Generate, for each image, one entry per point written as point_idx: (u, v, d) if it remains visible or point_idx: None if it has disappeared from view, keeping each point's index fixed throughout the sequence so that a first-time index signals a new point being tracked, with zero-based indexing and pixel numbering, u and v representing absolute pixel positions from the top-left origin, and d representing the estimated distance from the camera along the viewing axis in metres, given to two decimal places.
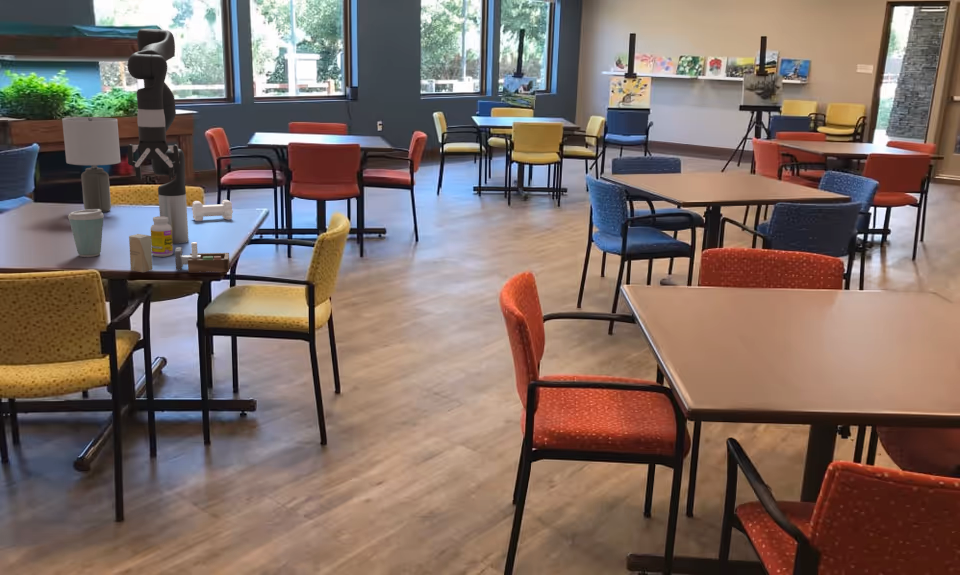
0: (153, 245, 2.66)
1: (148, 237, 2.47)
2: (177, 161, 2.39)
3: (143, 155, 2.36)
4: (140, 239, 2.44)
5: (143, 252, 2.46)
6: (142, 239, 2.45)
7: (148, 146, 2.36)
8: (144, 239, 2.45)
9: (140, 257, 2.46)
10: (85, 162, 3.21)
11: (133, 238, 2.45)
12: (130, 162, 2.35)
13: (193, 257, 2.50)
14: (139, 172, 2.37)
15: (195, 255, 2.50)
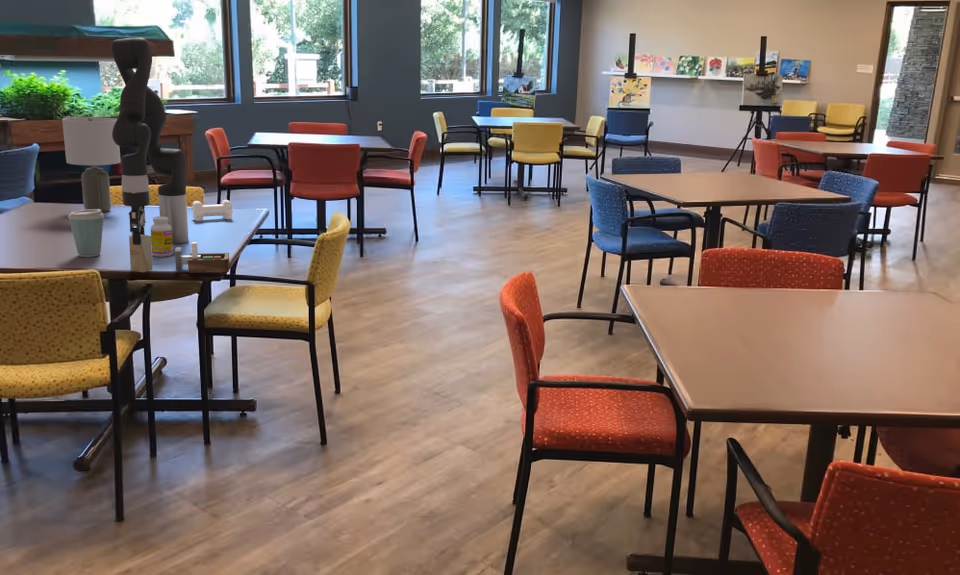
0: (153, 245, 2.66)
1: (148, 237, 2.47)
2: None
3: (142, 219, 2.43)
4: None
5: (143, 252, 2.46)
6: (142, 239, 2.45)
7: (140, 210, 2.44)
8: (144, 239, 2.45)
9: (140, 256, 2.46)
10: (85, 162, 3.21)
11: None
12: (139, 228, 2.40)
13: (193, 257, 2.50)
14: (140, 237, 2.43)
15: (195, 255, 2.50)
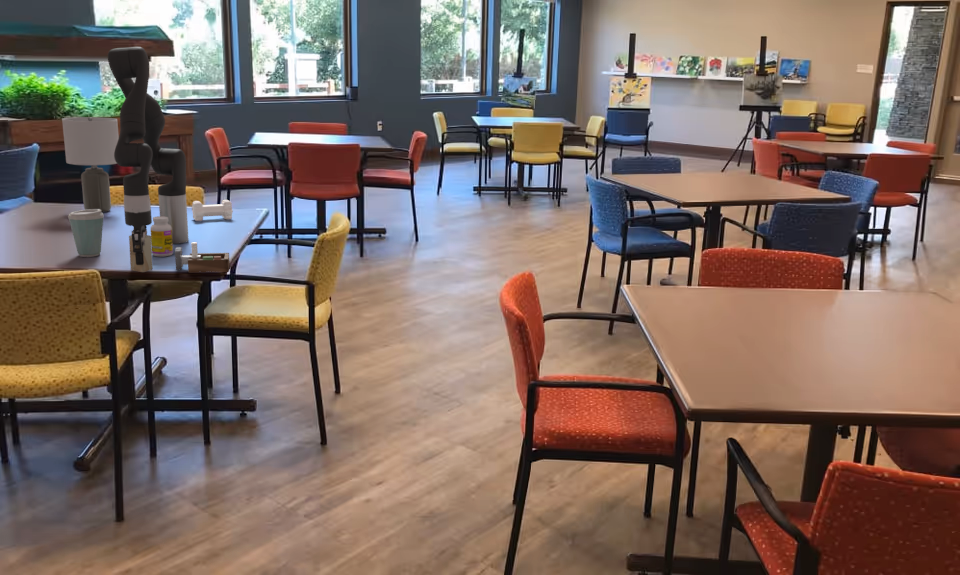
0: (153, 245, 2.66)
1: (148, 237, 2.47)
2: None
3: (144, 239, 2.45)
4: None
5: None
6: (142, 239, 2.45)
7: (142, 229, 2.45)
8: None
9: None
10: (85, 162, 3.21)
11: None
12: (142, 249, 2.43)
13: (193, 257, 2.50)
14: (143, 257, 2.46)
15: (195, 255, 2.50)
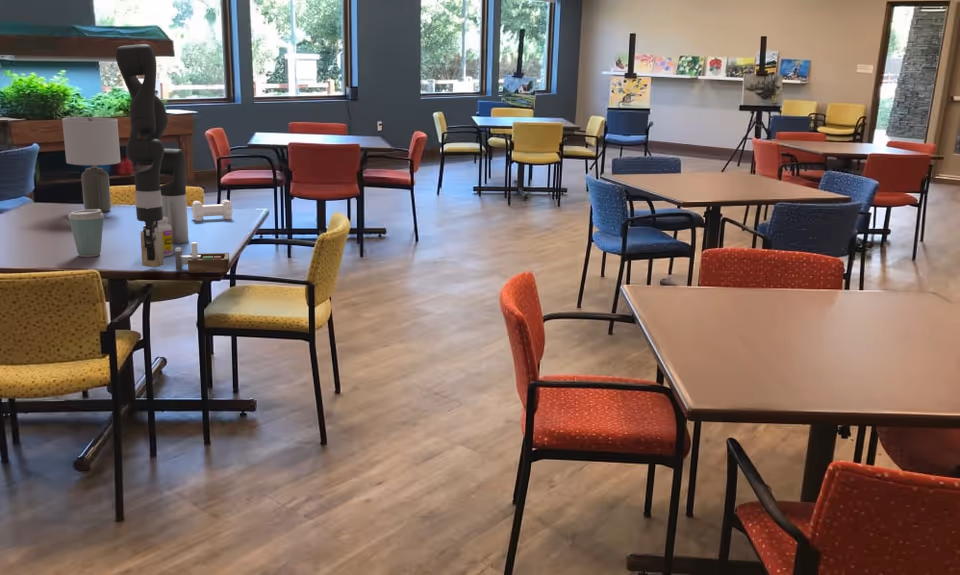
0: None
1: (159, 232, 2.47)
2: None
3: None
4: None
5: None
6: (153, 234, 2.45)
7: (153, 225, 2.46)
8: None
9: None
10: (85, 162, 3.21)
11: None
12: (153, 245, 2.43)
13: (193, 257, 2.50)
14: (154, 252, 2.46)
15: (195, 255, 2.50)
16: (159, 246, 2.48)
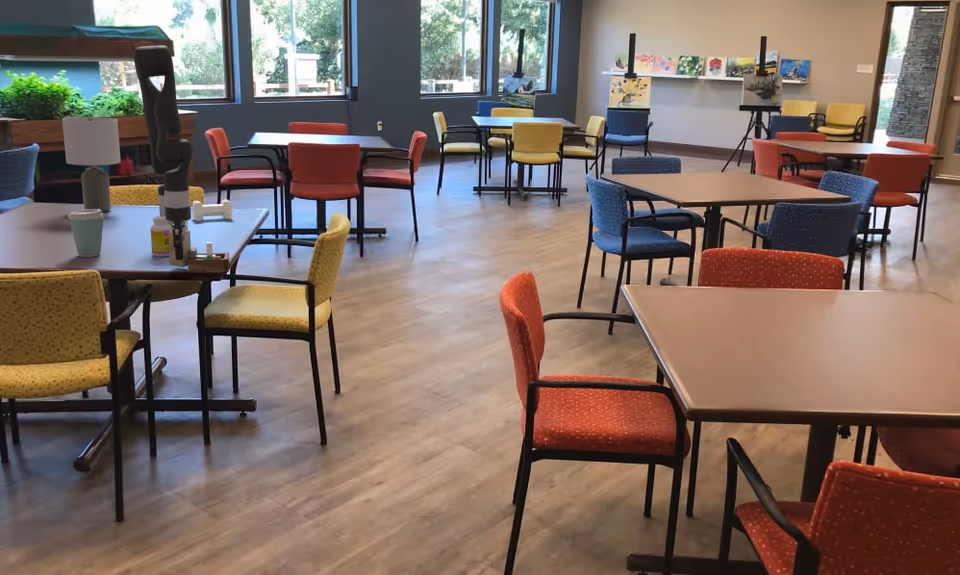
0: (153, 245, 2.66)
1: (187, 232, 2.50)
2: None
3: None
4: None
5: None
6: (182, 234, 2.47)
7: (182, 225, 2.48)
8: (184, 234, 2.48)
9: None
10: (85, 162, 3.21)
11: None
12: (182, 244, 2.45)
13: None
14: (182, 252, 2.48)
15: (210, 255, 2.51)
16: (187, 246, 2.50)
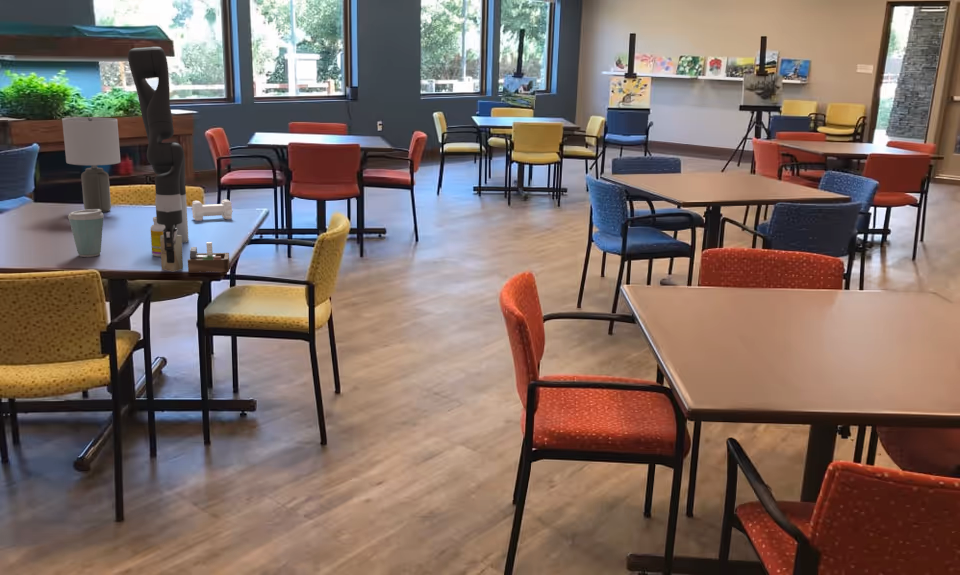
0: (153, 245, 2.66)
1: (179, 237, 2.49)
2: None
3: (175, 238, 2.47)
4: None
5: (174, 251, 2.48)
6: (173, 239, 2.47)
7: (173, 228, 2.48)
8: None
9: None
10: (85, 162, 3.21)
11: None
12: (173, 247, 2.44)
13: None
14: None
15: (210, 255, 2.51)
16: (179, 250, 2.50)
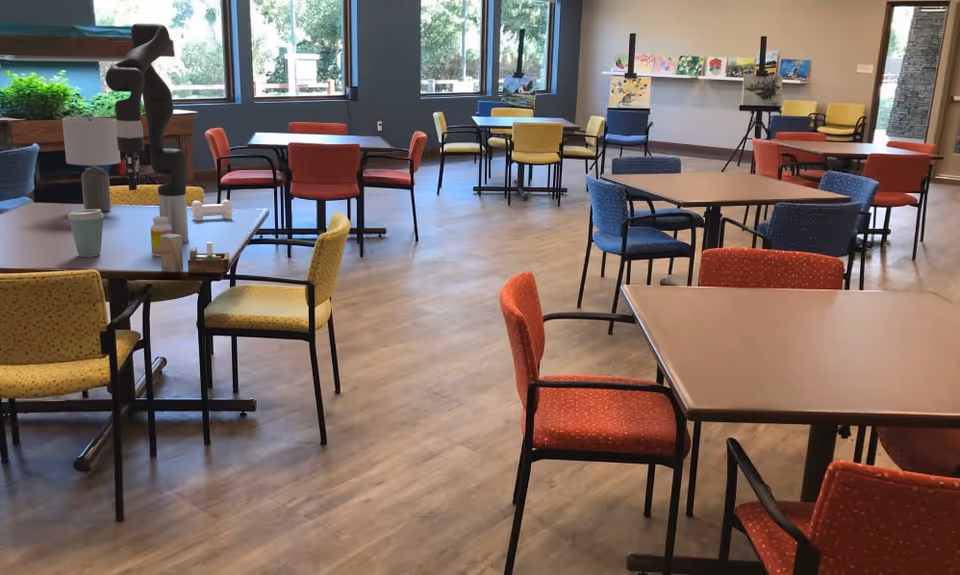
0: (153, 245, 2.66)
1: (179, 237, 2.49)
2: None
3: (137, 165, 2.45)
4: (171, 239, 2.47)
5: (174, 251, 2.48)
6: (173, 239, 2.47)
7: (135, 156, 2.45)
8: (175, 239, 2.48)
9: (171, 256, 2.48)
10: (85, 162, 3.21)
11: (164, 238, 2.47)
12: (135, 174, 2.42)
13: None
14: (136, 182, 2.45)
15: (210, 255, 2.51)
16: (179, 250, 2.50)
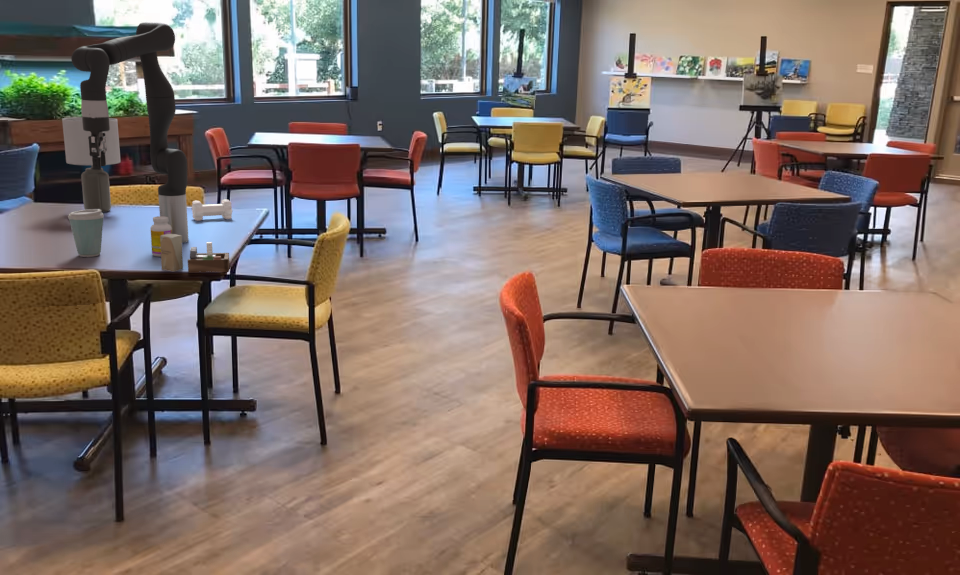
0: (153, 245, 2.66)
1: (179, 237, 2.49)
2: None
3: (102, 145, 2.46)
4: (171, 238, 2.47)
5: (174, 251, 2.48)
6: (173, 238, 2.47)
7: (100, 136, 2.47)
8: (175, 238, 2.48)
9: (171, 256, 2.48)
10: (85, 162, 3.21)
11: (164, 238, 2.47)
12: (98, 153, 2.43)
13: None
14: (100, 162, 2.46)
15: (210, 255, 2.51)
16: (179, 250, 2.50)
